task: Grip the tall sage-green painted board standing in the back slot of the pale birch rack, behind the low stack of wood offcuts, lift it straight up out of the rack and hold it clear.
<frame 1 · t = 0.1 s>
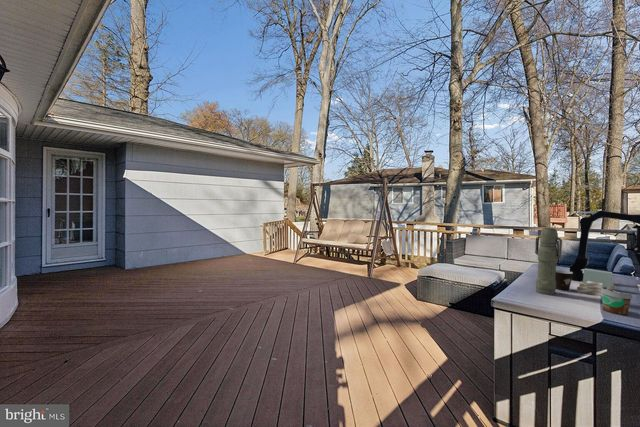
thermos: (545, 292, 174), on the table
food container: (610, 312, 147), on the table
green board: (596, 288, 184), on the table
offcut stack: (594, 292, 176), on the table
rack: (596, 287, 184), on the table
coffee mug: (558, 289, 181), on the table
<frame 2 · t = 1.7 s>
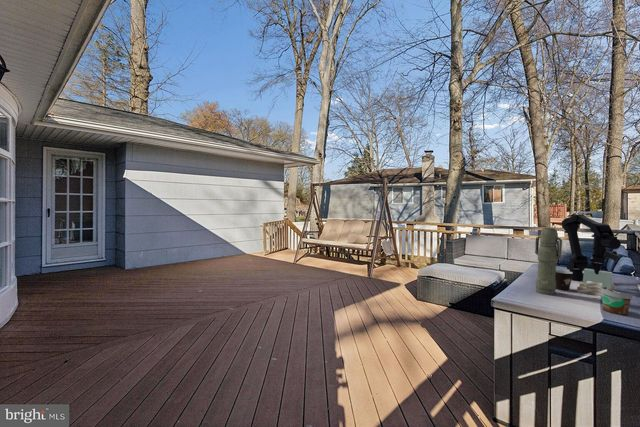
hand: (597, 272, 184), 9 cm above the table, tool pointing down, fingers open, 9 cm apart
nothing on the table moved.
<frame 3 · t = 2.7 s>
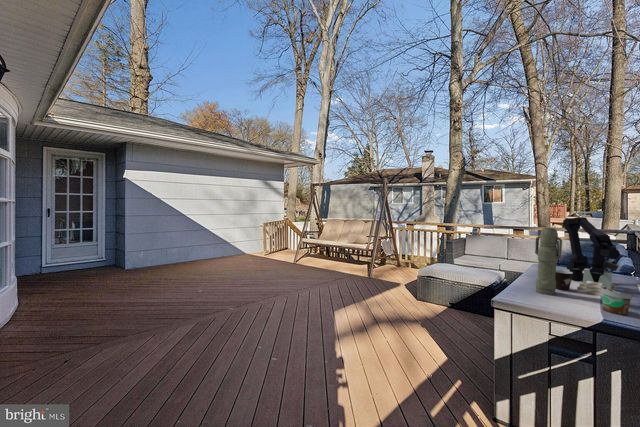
hand: (597, 282, 184), 3 cm above the table, tool pointing down, fingers open, 9 cm apart
nothing on the table moved.
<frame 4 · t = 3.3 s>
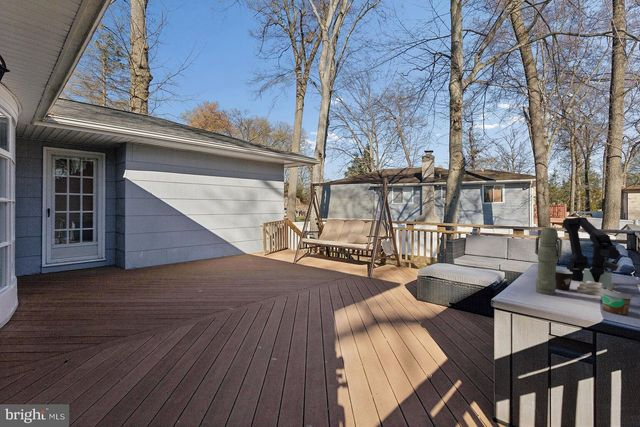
hand: (597, 282, 184), 3 cm above the table, tool pointing down, fingers closed on green board, 4 cm apart
green board: (596, 287, 184), on the table, touching gripper
everything else where it was.
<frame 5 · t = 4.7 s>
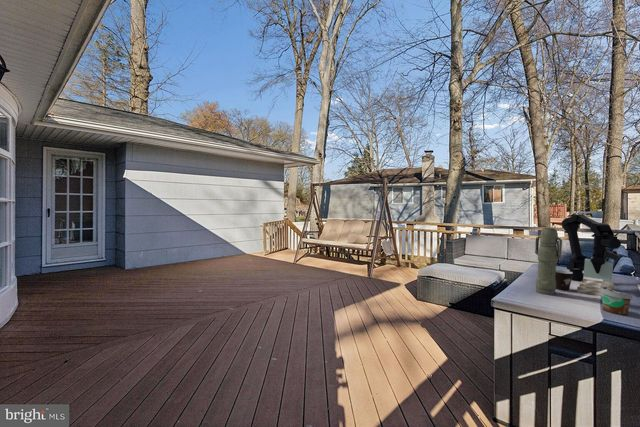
hand: (597, 272, 184), 9 cm above the table, tool pointing down, fingers closed on green board, 4 cm apart
green board: (597, 278, 184), point 6 cm above the table, touching gripper
everything else where it was.
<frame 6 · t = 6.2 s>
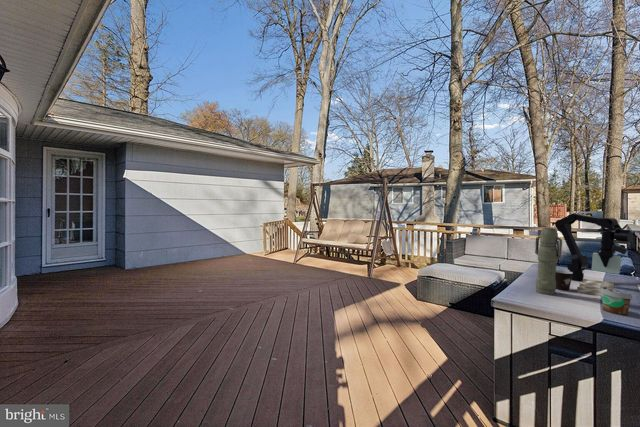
hand: (605, 266, 186), 12 cm above the table, tool pointing down, fingers closed on green board, 4 cm apart
green board: (605, 271, 187), point 9 cm above the table, touching gripper
everything else where it was.
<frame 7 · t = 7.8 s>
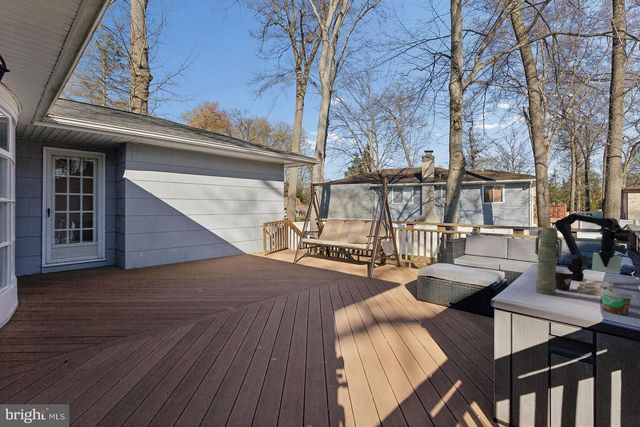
hand: (606, 266, 186), 12 cm above the table, tool pointing down, fingers closed on green board, 4 cm apart
green board: (605, 271, 187), point 9 cm above the table, touching gripper
everything else where it was.
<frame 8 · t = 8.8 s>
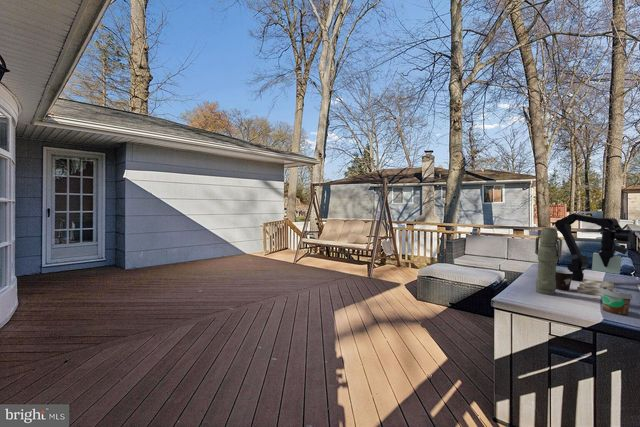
hand: (606, 266, 186), 12 cm above the table, tool pointing down, fingers closed on green board, 4 cm apart
green board: (605, 271, 187), point 9 cm above the table, touching gripper
everything else where it was.
at the end: the gripper is holding green board; green board point 8.9 cm above the table; offcut stack moved 0.7 cm from its start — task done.
